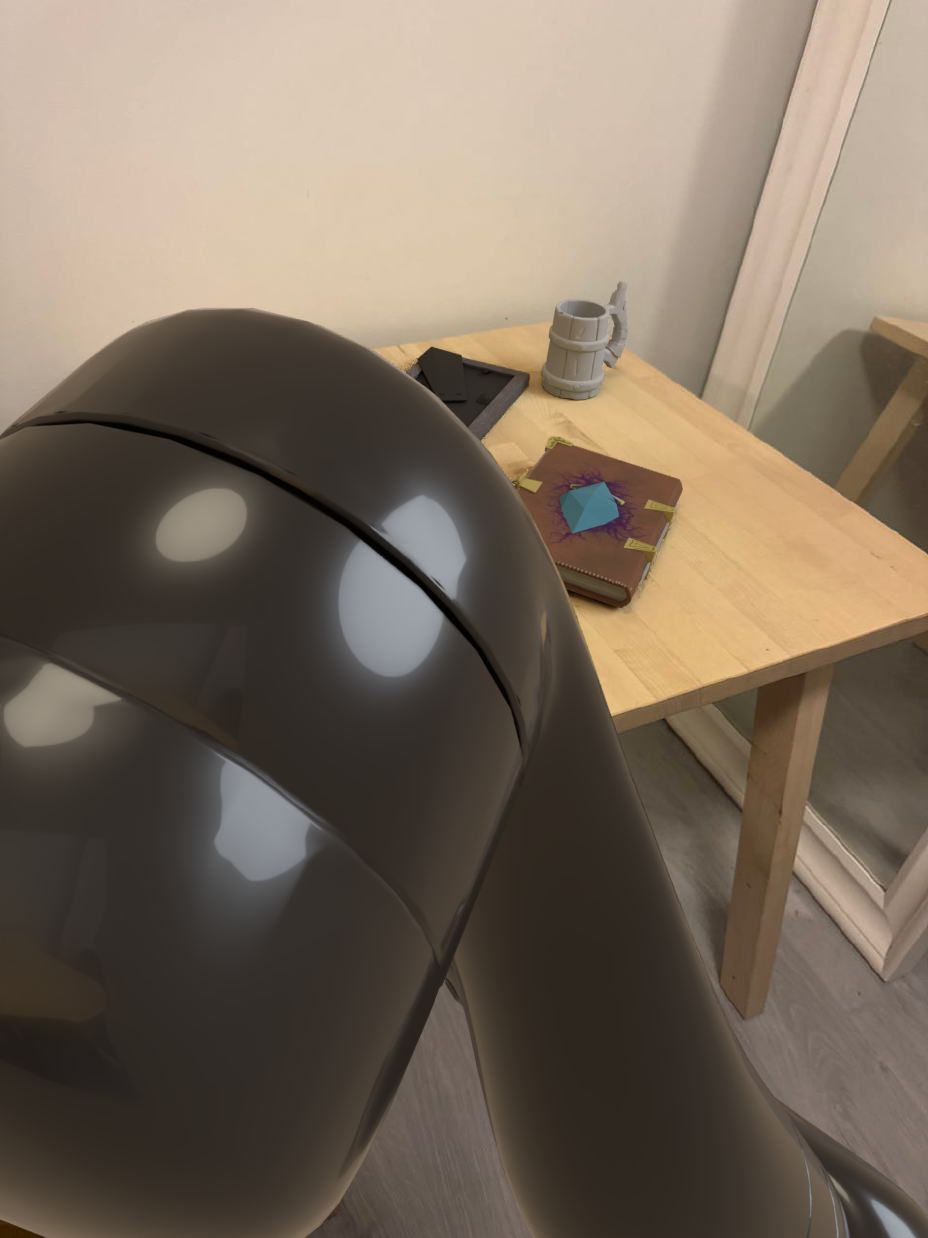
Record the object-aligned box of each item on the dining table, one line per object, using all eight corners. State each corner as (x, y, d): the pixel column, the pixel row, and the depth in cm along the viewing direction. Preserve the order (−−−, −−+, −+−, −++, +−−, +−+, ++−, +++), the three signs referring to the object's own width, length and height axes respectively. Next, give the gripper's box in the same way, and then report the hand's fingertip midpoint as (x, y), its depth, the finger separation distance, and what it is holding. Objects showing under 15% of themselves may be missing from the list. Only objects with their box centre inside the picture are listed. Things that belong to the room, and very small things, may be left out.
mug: (527, 381, 112) (538, 284, 104) (597, 361, 118) (613, 268, 110) (567, 406, 108) (582, 307, 100) (638, 385, 113) (657, 290, 106)
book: (688, 490, 96) (701, 449, 93) (626, 624, 79) (640, 580, 75) (545, 444, 100) (554, 403, 97) (456, 563, 82) (462, 518, 79)
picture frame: (430, 361, 115) (364, 420, 102) (431, 346, 114) (364, 404, 101) (528, 385, 111) (472, 449, 98) (530, 370, 110) (474, 433, 97)
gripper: (647, 810, 41) (455, 612, 51) (373, 962, 35) (215, 702, 45) (620, 902, 46) (449, 704, 56) (374, 1051, 40) (231, 798, 50)
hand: (345, 703), depth 51 cm, fingers open, 8 cm apart
